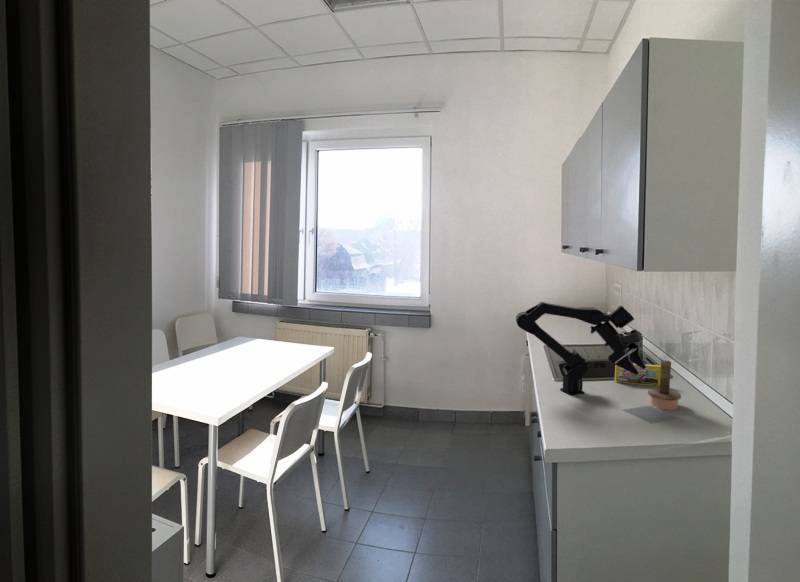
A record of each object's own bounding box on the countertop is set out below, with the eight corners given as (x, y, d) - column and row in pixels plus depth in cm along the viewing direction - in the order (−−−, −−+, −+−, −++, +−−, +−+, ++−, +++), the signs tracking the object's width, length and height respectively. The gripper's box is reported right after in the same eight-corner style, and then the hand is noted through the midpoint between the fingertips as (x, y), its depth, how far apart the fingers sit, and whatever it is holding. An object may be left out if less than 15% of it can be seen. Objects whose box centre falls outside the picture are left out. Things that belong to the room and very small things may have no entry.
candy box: (614, 382, 187) (615, 362, 186) (614, 381, 189) (615, 361, 188) (659, 386, 182) (661, 366, 181) (658, 385, 184) (659, 364, 183)
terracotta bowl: (664, 411, 155) (665, 400, 155) (645, 403, 163) (645, 392, 162) (682, 409, 158) (683, 397, 157) (662, 401, 165) (663, 390, 165)
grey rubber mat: (651, 424, 145) (651, 423, 145) (622, 411, 156) (622, 409, 156) (680, 419, 148) (680, 418, 148) (649, 407, 160) (650, 405, 160)
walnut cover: (665, 401, 154) (667, 366, 152) (641, 392, 163) (642, 359, 162) (687, 398, 157) (690, 364, 155) (663, 389, 166) (665, 356, 165)
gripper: (619, 327, 159) (653, 364, 153) (635, 319, 173) (666, 353, 167) (595, 345, 165) (626, 382, 159) (612, 337, 179) (641, 370, 173)
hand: (641, 371), depth 164 cm, fingers open, 9 cm apart
